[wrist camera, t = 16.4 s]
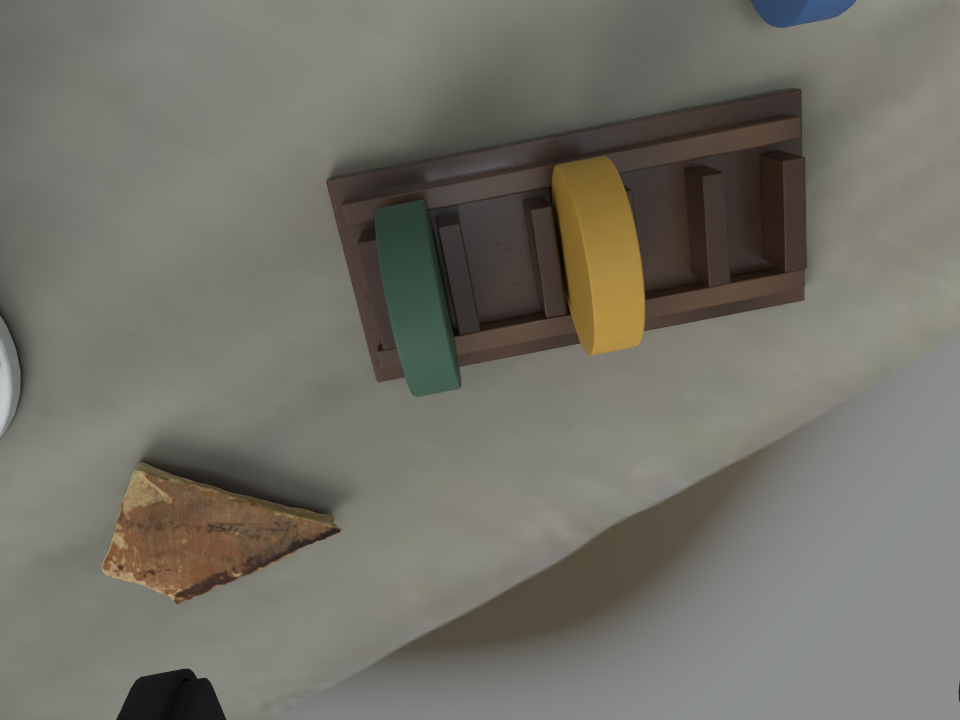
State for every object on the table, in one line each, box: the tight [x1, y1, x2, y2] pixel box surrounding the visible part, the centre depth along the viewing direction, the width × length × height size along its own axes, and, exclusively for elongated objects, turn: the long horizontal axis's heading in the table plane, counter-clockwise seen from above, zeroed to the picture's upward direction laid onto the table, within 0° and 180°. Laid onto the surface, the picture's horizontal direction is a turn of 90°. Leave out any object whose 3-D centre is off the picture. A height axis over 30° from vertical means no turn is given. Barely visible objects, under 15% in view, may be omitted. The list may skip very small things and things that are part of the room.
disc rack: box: [326, 88, 807, 382], centre depth 35 cm, size 22×10×3 cm, turn 100°
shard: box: [102, 462, 341, 604], centre depth 40 cm, size 11×8×2 cm
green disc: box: [375, 200, 461, 397], centre depth 32 cm, size 2×8×8 cm, turn 10°
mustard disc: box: [552, 156, 645, 355], centre depth 32 cm, size 2×8×8 cm, turn 10°
